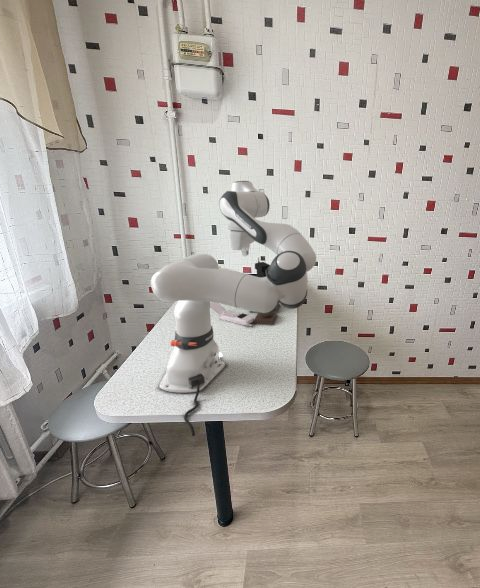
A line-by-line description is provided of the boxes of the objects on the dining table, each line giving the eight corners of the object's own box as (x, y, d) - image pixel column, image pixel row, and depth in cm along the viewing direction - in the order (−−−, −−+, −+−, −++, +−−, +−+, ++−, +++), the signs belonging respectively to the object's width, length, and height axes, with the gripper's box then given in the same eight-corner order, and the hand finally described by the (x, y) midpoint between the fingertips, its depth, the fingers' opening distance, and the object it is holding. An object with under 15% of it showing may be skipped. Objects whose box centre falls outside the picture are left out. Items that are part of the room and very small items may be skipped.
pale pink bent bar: (214, 300, 157) (258, 310, 148) (216, 311, 159) (258, 322, 150) (205, 304, 152) (249, 316, 142) (206, 316, 154) (250, 328, 145)
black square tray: (275, 313, 159) (275, 309, 158) (250, 312, 160) (250, 307, 159) (279, 305, 169) (279, 300, 168) (255, 303, 170) (255, 299, 169)
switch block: (271, 325, 149) (271, 317, 147) (254, 323, 149) (253, 315, 147) (276, 315, 158) (276, 307, 156) (259, 314, 158) (259, 306, 157)
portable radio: (275, 308, 163) (274, 260, 154) (264, 311, 160) (262, 262, 150) (266, 303, 169) (265, 256, 160) (256, 306, 165) (254, 258, 156)
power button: (268, 314, 150) (268, 310, 150) (261, 313, 150) (261, 310, 150) (269, 311, 153) (269, 307, 153) (262, 310, 153) (262, 307, 153)
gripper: (245, 218, 144) (247, 249, 149) (225, 226, 125) (228, 261, 130) (259, 219, 143) (260, 250, 149) (242, 227, 124) (243, 262, 130)
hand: (245, 255), depth 139 cm, fingers closed
